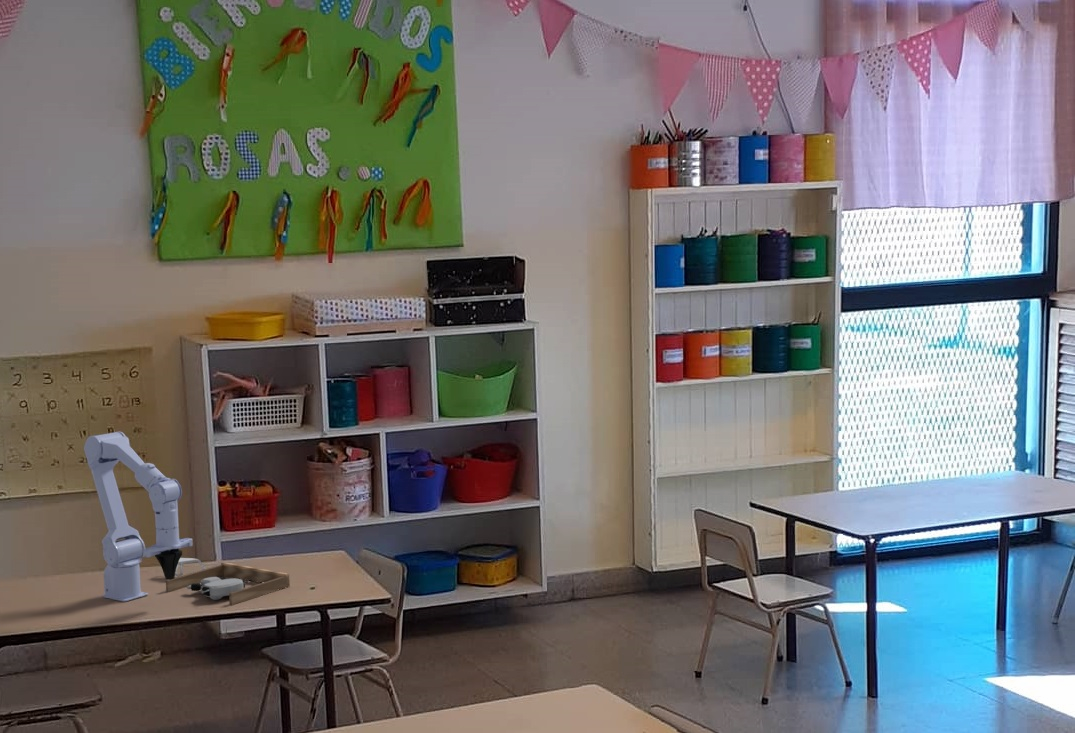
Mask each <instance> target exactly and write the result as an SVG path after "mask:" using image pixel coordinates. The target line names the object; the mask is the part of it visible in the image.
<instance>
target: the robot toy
mask: <svg viewBox="0 0 1075 733" xmlns="http://www.w3.org/2000/svg"><path fill="white" fill-rule="evenodd" d="M248 583H251V581H249V580H247V581H246V582H245V581H244V580H243V579H239V578H233V577H232V578H226V577H225V576H221V577H209V578H205V579H203V580H201V583H198V584H196V583H193V584H192V585H190V586H187V587H186V588H187V590H191V591H192V592H199V591H201V594H202V595H203V596H205V597H209V598H210V599H211V600H213V601H219V600H221V599H222V598H223V597H227V596H229V593H231V592H235V591H238V590H241V589H244V588H246V584H248Z"/></svg>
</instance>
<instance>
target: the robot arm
mask: <svg viewBox="0 0 1075 733" xmlns="http://www.w3.org/2000/svg"><path fill="white" fill-rule="evenodd" d="M83 450H84V454H85V458H86V462H87V465H88V468H89V469H90V471H91V476H92V478H93V483H94V485H95V489H96V493H97V496H98V499H99V503H100V506H101V510H102V514H103V516H104V520H105V524H106V526H107V531H108V532H107V533H106V534H105V536H104V537H103V538H102V540H101V543H102V550H103V551H102V554H103V555H102V556H103V559H104V561H105V562H106V563H107V565H106V566H105V567H104V570H103V582H104V583H103V584H104V586H103V587H104V594H102V596H101V597H102V598H105V599H109V600H114V601H119V602H124V603H125V602H128V601H132V600H135V599H139V598H142V597H145V596H148V595H149V593H148V592H144V591H142V588H141V572H140V563H142V559H143V558H151V557H152V556H154V557H155V559H156V560H157V561H158V563H159V564H160V567H161V570H162V573H163V575H164V579H165V580H171V579H174V578H176V575H175V572H176V573H177V571H176V568H177V564H178V562H179V559H180V558H182V556H183V550H180V549H183V548H187V547H193V546H194V545H193V544H194V543H193V538H190V537H185V538H180V529H179V527H180V526H179V525H180V524H179V508H178V501H179V500H181V498H182V494H183V490H182V485H181V484H180V483H179V481H178V480H177V479H176V478H170V477H166V476H165V475H164V474H163V473H162V472H161V471H160V470H159V469H158V468H157V467H156V465H155V464H154V463H150V462H146V463H145V462H144V461H143V460H142V458H141V457H140V456H139V455H138V454H137V452H135V450H134V449H133V448H132V447H131V445H130V439H129V437H128V436H126V434H125V433H124V432H122V431H115V432H109V433H104V434H97V435H90V436H88V437H87V439H86V441H85V443H84V446H83ZM119 462H121V463H122V464H123V465H124V466H126V467H127V468H128V469H129V470H131V471H132V472H133V473H134V479H135V480H136V482H137V483H138V484H140V486H142V487H143V488H144V489H145V490H146V492H148V497H149V500H150V502H151V504H152V510H153V512H154V517H155V518H154V520H155V521H154V523H155V524H154V525H155V538H156V540H155V541H156V543H155V544H153V545H151V546H149V547H146V545H145V542H144V540H143V538H141V536H140V533H139V530H137V529H136V528H135V527H132V526H130V525H129V522H128V519H127V518H128V517H127V514H126V512H125V511H126V510H125V507H124V504H123V502H122V497H121V494H120V491H119V488H118V484H117V480H116V477H115V474H114V468H115V465H117V464H118V463H119ZM177 569H178V568H177Z"/></svg>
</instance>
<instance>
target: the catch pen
mask: <svg viewBox="0 0 1075 733" xmlns="http://www.w3.org/2000/svg"><path fill="white" fill-rule="evenodd" d="M228 576H229V577H230V578H233V577H234V578H236V579H239V578H240V579H241V580H244V579H246V580H245V581H249V580H252V581H251V582H255V581H258V582H257V584H254V585H251V586H247V587H245V588H244V589H241V590H238V591H235V592H231V593H229V597H228V598H229V600H228V601H229V605H230V606H233V605H237V604H240V603H243V602H246V601H249V600H253V599H256V598H259V597H262V596H265V595H267V594H266V593H268V594H271V593H270V592H272V593H274V592H273V591H275V592H277V591H276V590H278V589H281V590H283V589H282V588H284V589H286V588H285V587H287V588H289V587H288V586H290V587H291V585H290V584H291V583H290V573H288V572H287V573H286V572H280V571H277V570H270V569H264V568H261V567H253V566H249V565H242V564H238V563H231V562H227V561H226V562H225V561H222V562H220V565H219V564H218V565H216V566H212V567H209V568H206V569H205V570H202V569H201V570H199V571H195V572H192V573H188V574H183V575H180V577H178V576H176V577H174V579H171V580H169V579H165V590H166V592H167V593H170V592H174V591H178V590H180V589H184V588H187V586H190V585H192V584H193V583H196V584H201V580H203V579H205V578H209V577H218V578H222V577H228ZM229 577H228V578H229ZM260 582H264V583H260ZM278 591H279V590H278ZM264 594H265V595H264ZM261 595H262V596H261Z"/></svg>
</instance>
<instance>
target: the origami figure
mask: <svg viewBox="0 0 1075 733" xmlns="http://www.w3.org/2000/svg"><path fill="white" fill-rule="evenodd" d="M191 563H198V564H199V565H200V566H202V569H201V570H205V569H207V567H205V565H204V564H203V562H202V561H201V560H200V559H198V558H192V557H191V558H190V557H180V559H179V562H178V564H177V568H176V572H175V577H180V576H183V575H184V573H183V572H184V565H185V564H191ZM179 567H180V569H179V570H180V574H178V572H177V571H178V568H179Z"/></svg>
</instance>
